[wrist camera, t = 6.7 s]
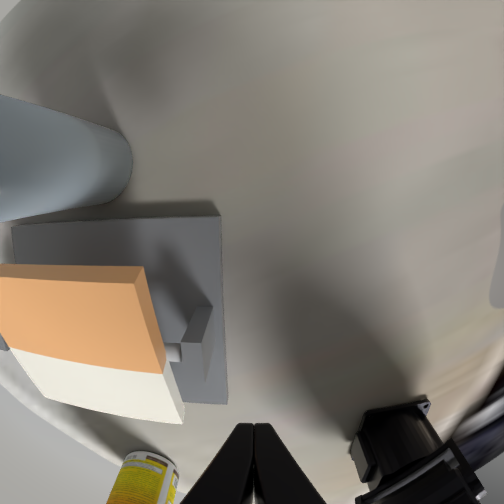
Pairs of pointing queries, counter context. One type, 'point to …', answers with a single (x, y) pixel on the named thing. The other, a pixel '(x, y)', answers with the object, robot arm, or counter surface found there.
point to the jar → (56, 161)
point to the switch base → (154, 282)
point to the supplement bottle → (145, 480)
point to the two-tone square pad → (91, 338)
